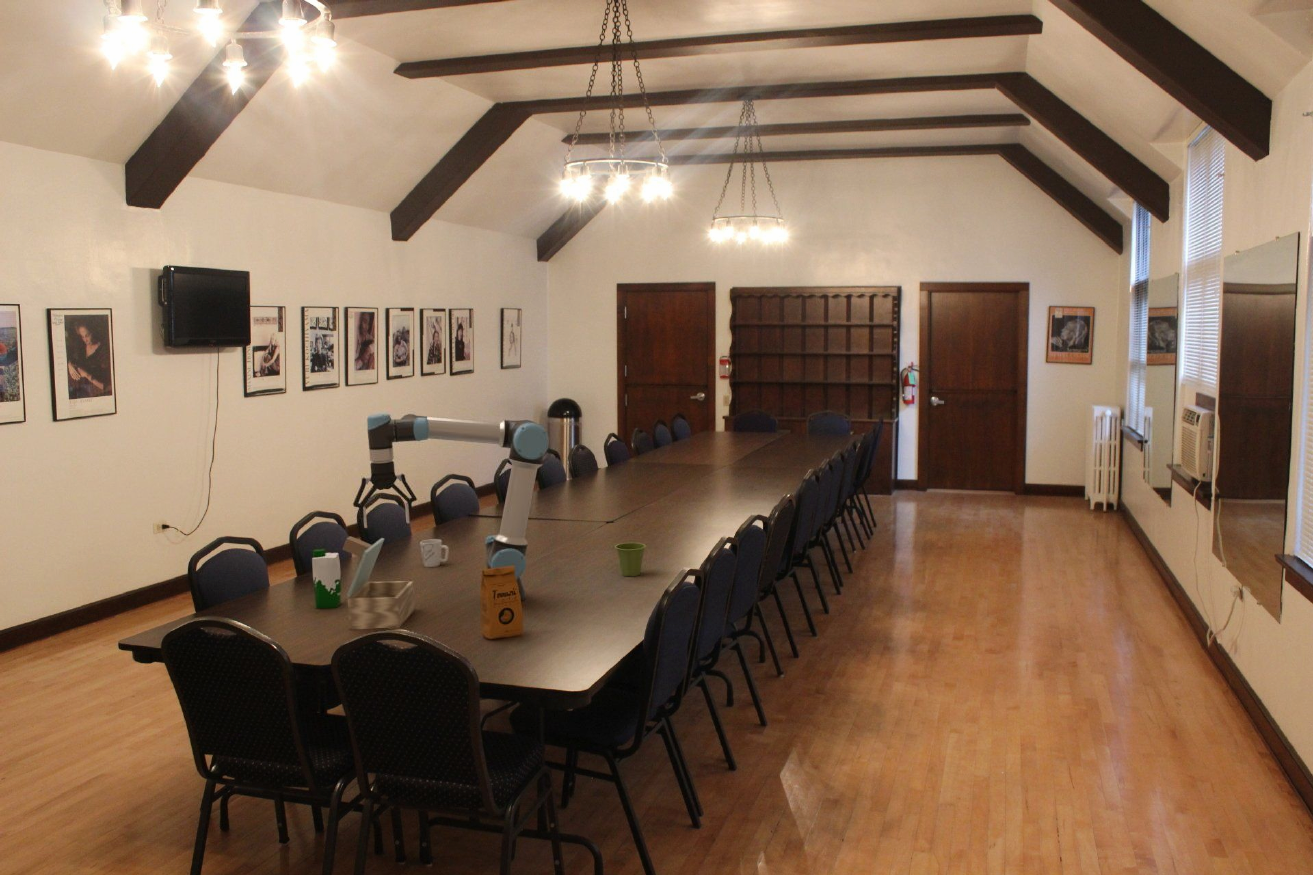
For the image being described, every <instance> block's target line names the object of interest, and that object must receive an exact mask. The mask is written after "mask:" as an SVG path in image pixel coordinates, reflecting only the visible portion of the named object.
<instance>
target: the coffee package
mask: <svg viewBox="0 0 1313 875" xmlns="http://www.w3.org/2000/svg"><path fill="white" fill-rule="evenodd" d="M514 572H515V566H508V567H501V568H491V569H487V568H486V569H482V570H481V575H480V576H481V580H480V596H479V598H480V622H481V623H480V624H481V635H482V636H484V637H485V638H486V639H489V640H492V639H501V638H511V637H517V636H523V633H524V632H523V631H524V620H523V619H524V618H523V616H524V615H523V606H522V601H521V597H520V593H519V588H518V584H517V580H516V575H515V573H514Z"/></svg>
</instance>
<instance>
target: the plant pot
mask: <svg viewBox="0 0 1313 875" xmlns="http://www.w3.org/2000/svg"><path fill="white" fill-rule="evenodd" d="M646 546H647V545H646V544H644V543H641V542H623V543H618V544H616V545H614V547H615V550H616V553H617V556H618V562H619V567H620V573H621V575H622V576H623V577H637V576H640V574H641V570H642V565H643V557H644V553H645V548H646Z"/></svg>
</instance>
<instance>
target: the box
mask: <svg viewBox="0 0 1313 875" xmlns="http://www.w3.org/2000/svg"><path fill="white" fill-rule="evenodd" d="M414 584H415V583H414V580H407V581H406V580H403V581H402V580H401V581H399V580H397V581H367V582H366V583H365V584H364V585H363V586H362V587H361V588H360V589H358V590H357V591H356V592H355V593H354V594H353V595H352V596H351V597H347V613H348V628H349V630H374V629H373V628H388V629H387V630H389V629H390V630H391V629H392V630H394V629H395V630H397V629H400V628H401V627H402V625H403V624H404V623H405V622H406V621H407V619H408V618H409V617H410V616H411V615H412V614H413V612H414V611H415V610H416V606H415V605H416V604H415V587H414Z"/></svg>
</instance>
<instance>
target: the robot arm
mask: <svg viewBox="0 0 1313 875" xmlns="http://www.w3.org/2000/svg"><path fill="white" fill-rule="evenodd" d="M366 422H367V423H366V425H367V428H366V429H367V437H368V438H367V439H368V449H369V450H368V452H369V461H370V464H369V465H370V477H365V476H362V477H361V482H360V487H359V489H358V491H357V494H356V496H355V498H354V501H353V503H352V506H353V507H355V508H358V511H359V517H360V518H361V519H362V518H363V526H364V527H363V528H364V529H368V523H367V522H368V521H367V519H368V518H367V508H366V504H367V503H368V501H369V500H370V499H371V497H372V496H373V494H374V493H376V491H377V490H379V491H383V490H390V489H391V488H392V489H393V490H394V491H395V492H396V493H398V495H399V496H400V497H402V498H403V499H404V500H405V501H406V502H404V509H405V520H406V523H407V524H410V513H413V507H412V506H413V505H412V504H413V503H414V502H416V501H418V499H417V497H416V495H415V493H414V491H413V489H411V487H410V485H409V483H408V481H407V480H406V475H405V474H404V473H400V474H396V472H395V462H394V461H393V460H394V457H395V456H394V446H393V443H399V442H401V443H402V442H420V441H426V440H428V439H431V440H442V441H444V440H445V441H454V442H465V443H467V442H469V443H479V444H492V445H498V446H499V447H500V448H502V449H503V448H504V449H505V448H506V449H510V450H509V456H508V460H509V462H510V463H511V470H510V473H509V479H508V485H507V489H506V490H507V491H506V496H505V503H504V507H503V512H502V517H501V521H500V522H501V523H500V528H499V533H498V534H494V535H493V534H492V535H488V536H487V537H486V538H485V542H484V543H485V544H484V546H485V556H486V557H485V561H486V563H485V564H486V569H491V568H501V567H508V566H515V572H514V573H515V575H516V580H517V584H518V588H519V593H520V597H521V602H522V601H524V600H525V599H526V598H527V596H526V595H527V594H526V590H525V586H524V583H523V581H522V578H521V576H522V575H524V573H525V570H526V567H527V559H526V555H527V550H528V544H529V541H527V540H526V538H525V536H526V530H527V526H528V520H529V515H530V510H531V504H532V499H533V494H534V487H535V484H536V483H535V482H536V477H537V473H538V472H537V471H538V469H539V468H540V467H542V466H543V463H544V459H545V454H546V452H547V451H548V448H549V444H550V439H549V435H548V432H547V431H546V429H545V428H544V427H543V426H542V425H540V424H539V423H537V422H536V421H532V420H529V419H523V420H519V419H518V420H510V419H509V420H506V419H502V420H501V421H500V422H499V421H498V422H497V421H495V422H494V421H487V420H486V421H485V420H476V419H475V420H474V419H464V418H463V419H461V418H449V417H439V416H438V417H436V416H425V415H416V414H414V413H413V414H412V413H408V414H405V415H404V416H402V417H401V418H400V419H399V418H398V419H393V418H392V417H391V414H389V413H376V414H370V415H369V416H368V417H367V420H366ZM397 480H399V481H400V482H401V483H402V484H403V486H404V487H405V489H406V491H407V492H408V494H409V495H410V497H408V496H407V494H405V493H404V492H403V491H402V490H401V489H400V488H399V487H398V486H397V485H396V484H395V483H396V481H397ZM369 482H370V483H371V484H372V485H371V488H370V489H369V491H368V492H367V493H366V494H365V496H364V497H363V499H362V500H361V498H362V495H363V493H364V491H365V488H366V485H369Z"/></svg>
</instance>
